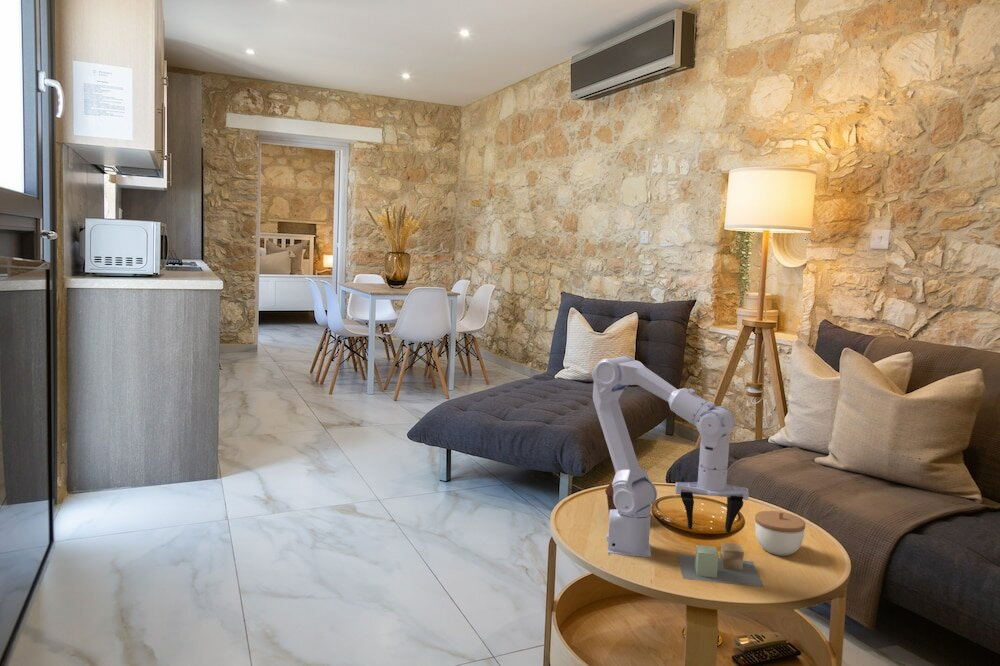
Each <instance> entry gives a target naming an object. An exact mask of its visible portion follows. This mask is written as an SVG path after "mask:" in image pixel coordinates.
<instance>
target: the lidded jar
mask: <svg viewBox="0 0 1000 666" xmlns="http://www.w3.org/2000/svg"><path fill="white" fill-rule="evenodd" d="M805 529H806V522H805V520H804V519H802V518H801V517H799V516H797V515H795V514H792V513H790V512H789V513H788V512H784V511H780V510H779V511H777V510H763V511H758V512H756V513H755V515H754V533H755V538H756V540H757V542H758V545H759V546H761V548H762V549H763V550H764V551H765V552H767V553H769V554H772V555H776V556H780V557H781V556H783V557H784V556H790V555H792V554H794V553H795V552H797V551H798V550H799V548H800V547H801V546H802V543H803V540H804V538H805Z"/></svg>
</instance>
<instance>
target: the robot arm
mask: <svg viewBox="0 0 1000 666" xmlns="http://www.w3.org/2000/svg"><path fill="white" fill-rule="evenodd" d="M591 377H592V380H593V387H592V401H593V406H594V408H595V410H596V411H595V412H596V415H597V417H598V420H599V424H600V428H601V430H602V433H603V436H604V440H605V443H606V446H607V449H608V451H609V455H610V458H611V461H612V462H611V463H612V465H613V469H614V473H615V475H614V477H613V482H612V481H611V482H612V487H613V490H614V495H613V501H614V505H615V507H616V509H614V510H610V512H609V511H608V517H609V518H608V532H607V533H606V542H607V554H614V555H615V554H616V555H623V556H624V555H625V556H634V557H646V558H651V557H652V552H651V551H652V550H651V543H650V530H651V515H652V512H651V511H652V505H653V504H654V503H655V502H656V500H657V496H658V491H657V488H656V486H655V484H654V483H653V482H652V481H651V479H650V478H649V474H648V472H647V471H646V470H644V468H643V467H641V466H640V465H639V461H638V459H637V455H636V453H635V450H634V446H633V443H632V440H631V439H632V438H631V436H630V434H629V431H628V427H627V424H626V421H625V418H624V415H623V412H622V408H621V405H620V401H619V399H620V397H621V396H622V394H623V392H624V391H625V389H626V388H627V387H628V386H639V387H640V388H643V389H645V390H646V391H648V392H650V393H651V394H653V395H655V396H657V397H659V398H660V399H662V400H663V401H666V402H667V403H668V405H669V409H670V411H671V412H673V413H675V414H676V415H677V416H679V417H680V418H682V419H684V420H685V421H687V422H688V423H690V424H691V425H693V426H695V427H696V429H697V432H698V434H700V435H699V436H700V443H699V456H698V459H699V460H698V474H697V481H691V482H690V481H689V482H687V481H686V482H679V481H678V482H677V481H676V482H675V486H674V487H675V488H674V493H675V495H680V498H681V501H682V503H683V505H684V509H685V513H686V518H687V528H688V529H689V530H693V522H694V521H693V515H694V513H693V512H694V505H695V500H694V495H698V496H709V497H724V498H726V517H725V523H724V524H725V525H724V528H725V529H724V530H725V531H726V533H731V531H732V527H733V524H734V522H735V519H736V518H737V516H738V514H739V513H740V511H741V510H742V508H743V506H744V500H746V501H747V500H749V494H750V492H749V489H748V488H747V487H741V486H736V485H729V484H727V481H728V479H727V478H728V468H729V467H728V465H729V455H730V454H729V453H730V438H731V437H730V435H731V434H730V432H732V431H733V429H734V428H735V425H736V419H735V417H734V414H733V413H732V412H731V410H729V409H728V408H727V407H726V406H724V405H723V406H721V405H720V406H719V405H718V406H716V404H715V402H713V401H707V400H706V399H704V398H702V397H701V396H699V395H698V394H696V390H695V389H694V388H686V387H683V388H679V389H677V388H676V387H675V386H673V385H672V384H671V383H669V382H668V381H666V380H664V379H663V378H662V377H661V376H660V375H658V374H656V373H655V372H653V371H652V370H651V369H649V368H647V367H646V366H645V365H644V364H643V363H642V362H641V361H639V360H635V358H633V357H631V356H630V355H621V356H616V357H613V358H603V359H600V360H599V361H598V362H597V363H596V364H595V367H594V368H593V370H592V372H591Z"/></svg>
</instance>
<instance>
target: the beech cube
mask: <svg viewBox="0 0 1000 666" xmlns="http://www.w3.org/2000/svg"><path fill="white" fill-rule="evenodd" d="M744 553H745V551H744V549H743V546H742V545H741V544H739V543H727V542H721V547H720V557H719V558H720V561H721V563H722V566H723V568H727V569H737V570H743V561H744V555H745V554H744Z"/></svg>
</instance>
